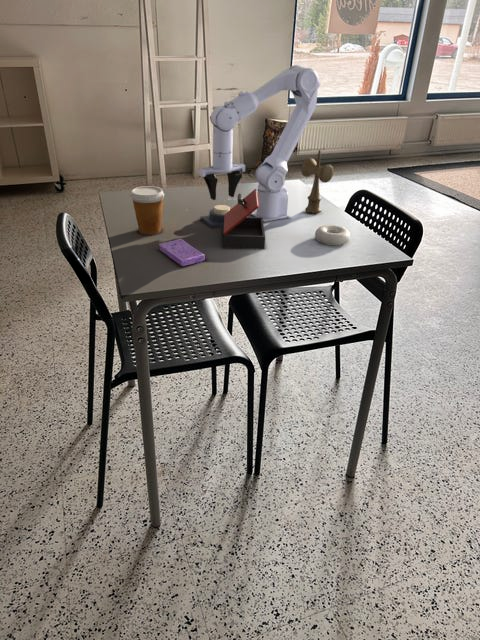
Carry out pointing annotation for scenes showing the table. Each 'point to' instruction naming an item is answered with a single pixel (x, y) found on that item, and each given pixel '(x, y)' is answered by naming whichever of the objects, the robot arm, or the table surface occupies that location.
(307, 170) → the kendama
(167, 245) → the sponge
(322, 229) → the donut
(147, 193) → the disposable coffee cup
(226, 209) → the power button
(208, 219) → the switch block
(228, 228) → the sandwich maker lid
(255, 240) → the black shallow box
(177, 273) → the table surface
